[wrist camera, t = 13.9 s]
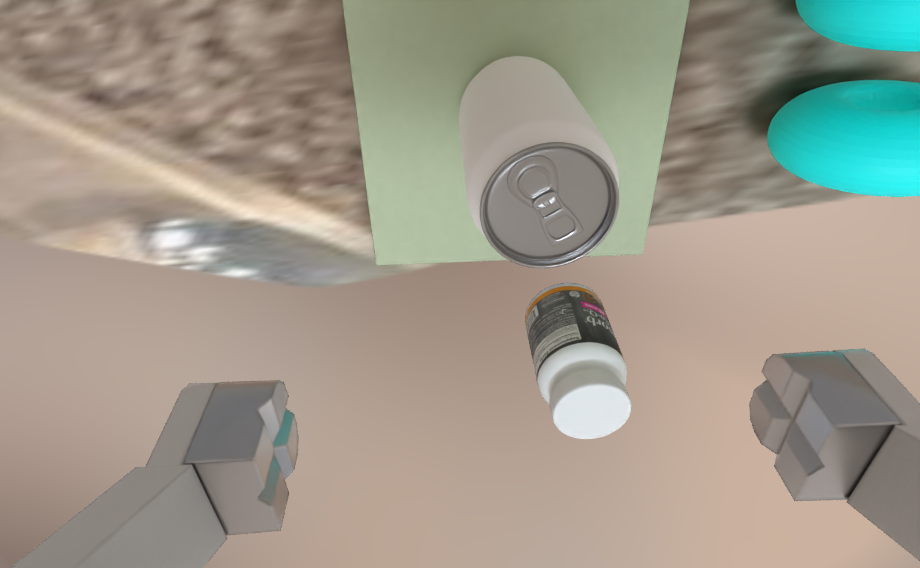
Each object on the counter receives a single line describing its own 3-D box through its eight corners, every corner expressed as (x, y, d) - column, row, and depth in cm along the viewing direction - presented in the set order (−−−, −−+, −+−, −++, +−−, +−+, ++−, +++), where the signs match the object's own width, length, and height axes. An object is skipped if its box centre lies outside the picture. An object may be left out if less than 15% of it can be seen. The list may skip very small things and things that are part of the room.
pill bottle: (616, 312, 42) (660, 414, 34) (553, 352, 44) (581, 458, 36) (571, 264, 40) (607, 363, 31) (507, 310, 42) (525, 413, 33)
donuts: (964, -74, 29) (1175, -57, 21) (899, 120, 35) (1044, 193, 26) (764, -47, 29) (893, -21, 21) (732, 140, 35) (824, 218, 27)
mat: (332, -92, 27) (330, -92, 27) (704, -104, 28) (709, -104, 27) (376, 261, 39) (376, 265, 38) (640, 250, 39) (643, 254, 39)
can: (538, 28, 30) (589, 98, 20) (589, 129, 33) (654, 230, 24) (436, 95, 32) (437, 188, 22) (493, 184, 35) (517, 300, 25)
